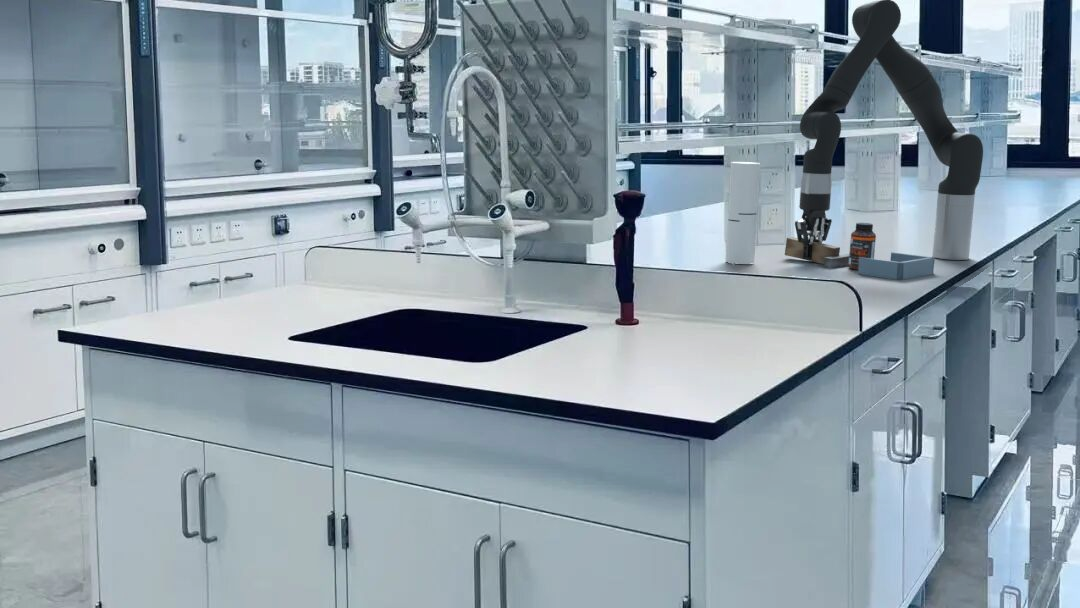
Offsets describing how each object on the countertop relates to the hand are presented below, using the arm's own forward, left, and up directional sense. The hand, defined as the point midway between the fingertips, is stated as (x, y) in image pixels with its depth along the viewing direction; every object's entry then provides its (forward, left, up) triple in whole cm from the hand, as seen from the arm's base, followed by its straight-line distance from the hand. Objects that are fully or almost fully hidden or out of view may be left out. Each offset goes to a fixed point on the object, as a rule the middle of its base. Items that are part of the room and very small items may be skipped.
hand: (810, 258), depth 286 cm
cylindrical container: (+17, -10, -1) cm, 20 cm away
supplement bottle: (0, +14, -1) cm, 14 cm away
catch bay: (0, +23, -1) cm, 23 cm away
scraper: (0, 0, 0) cm, 0 cm away
